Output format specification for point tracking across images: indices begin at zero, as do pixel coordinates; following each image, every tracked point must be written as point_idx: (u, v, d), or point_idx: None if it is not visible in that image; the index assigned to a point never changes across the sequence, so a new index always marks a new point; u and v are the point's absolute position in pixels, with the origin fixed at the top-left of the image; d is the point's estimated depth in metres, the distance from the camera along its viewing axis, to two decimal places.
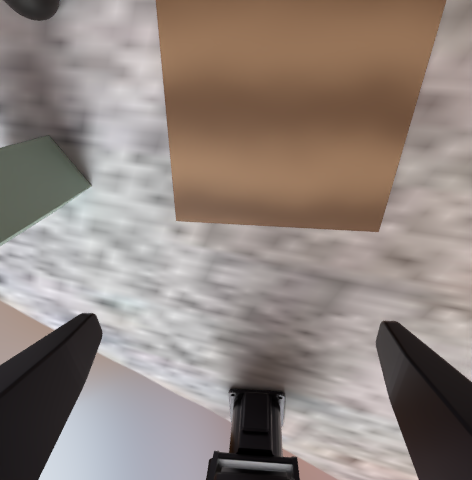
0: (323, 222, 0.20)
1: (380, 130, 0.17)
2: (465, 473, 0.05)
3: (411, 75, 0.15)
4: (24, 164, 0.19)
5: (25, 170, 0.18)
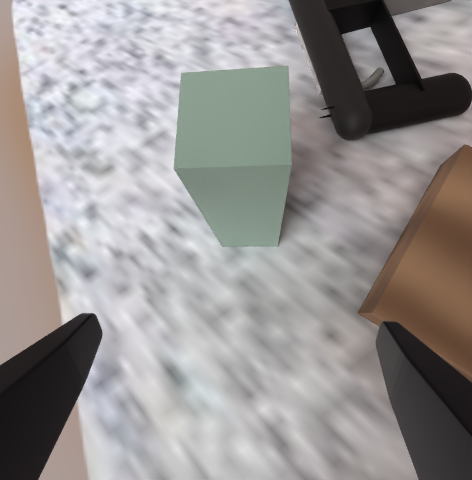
0: None
1: None
2: (465, 473, 0.05)
3: None
4: None
5: None
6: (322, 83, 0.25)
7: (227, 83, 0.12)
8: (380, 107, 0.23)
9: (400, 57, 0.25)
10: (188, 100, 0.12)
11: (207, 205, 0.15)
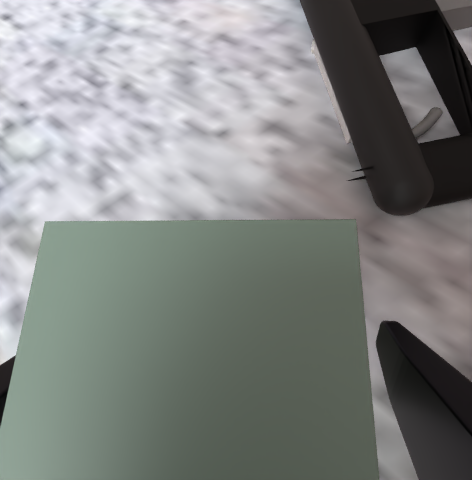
0: None
1: None
2: (465, 473, 0.05)
3: None
4: None
5: None
6: (353, 130, 0.17)
7: (170, 267, 0.04)
8: (446, 173, 0.15)
9: (469, 94, 0.17)
10: (50, 319, 0.04)
11: None
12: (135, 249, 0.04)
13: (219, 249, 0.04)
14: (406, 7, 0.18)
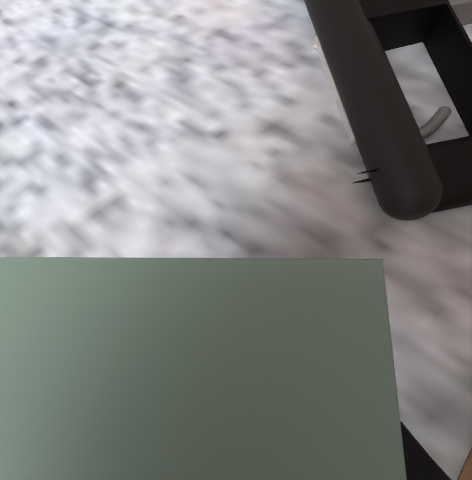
0: None
1: None
2: None
3: None
4: None
5: None
6: (358, 129, 0.16)
7: (143, 320, 0.03)
8: (456, 176, 0.14)
9: None
10: None
11: None
12: (99, 295, 0.03)
13: (206, 297, 0.03)
14: (413, 0, 0.17)
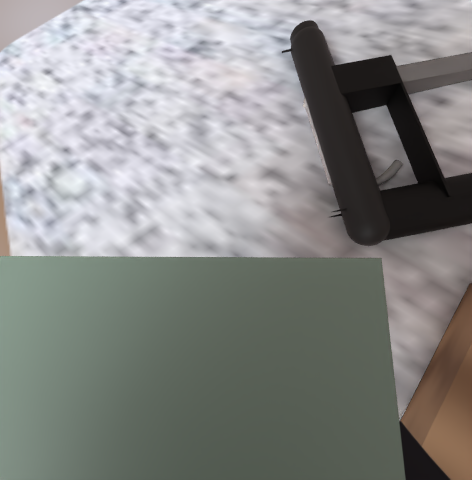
0: None
1: None
2: None
3: None
4: None
5: None
6: (333, 178, 0.22)
7: (143, 319, 0.03)
8: (399, 216, 0.20)
9: (422, 151, 0.22)
10: None
11: None
12: (100, 294, 0.03)
13: (206, 295, 0.03)
14: (376, 80, 0.23)
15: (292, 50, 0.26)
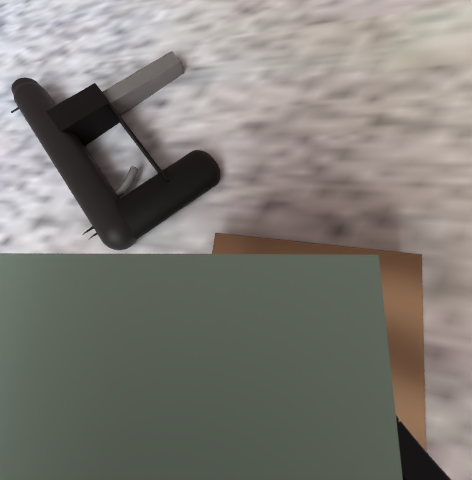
0: None
1: (397, 372, 0.18)
2: None
3: (412, 327, 0.18)
4: None
5: None
6: None
7: (140, 315, 0.03)
8: (133, 214, 0.23)
9: (144, 152, 0.25)
10: None
11: None
12: (97, 291, 0.03)
13: (203, 292, 0.03)
14: (87, 108, 0.26)
15: (19, 107, 0.28)
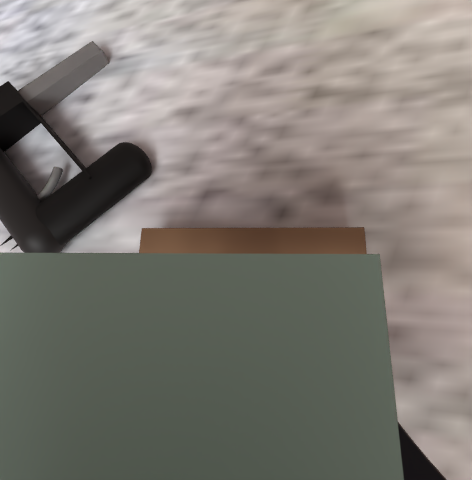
0: None
1: None
2: None
3: None
4: None
5: None
6: None
7: (141, 315, 0.03)
8: (53, 218, 0.21)
9: None
10: None
11: None
12: (98, 290, 0.03)
13: (204, 292, 0.03)
14: (0, 108, 0.23)
15: None
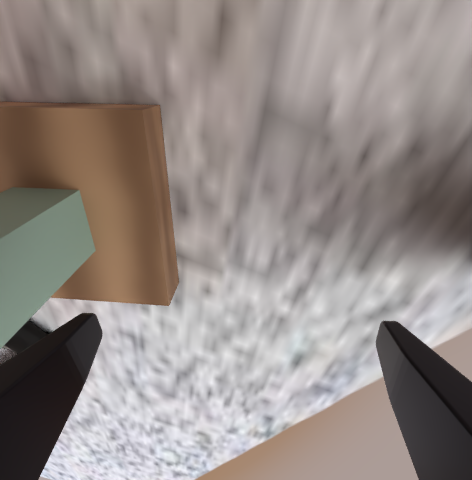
0: (143, 177, 0.18)
1: (37, 136, 0.17)
2: (465, 473, 0.05)
3: None
4: None
5: None
6: None
7: None
8: (22, 346, 0.28)
9: None
10: None
11: None
12: None
13: None
14: None
15: None
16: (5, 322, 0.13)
